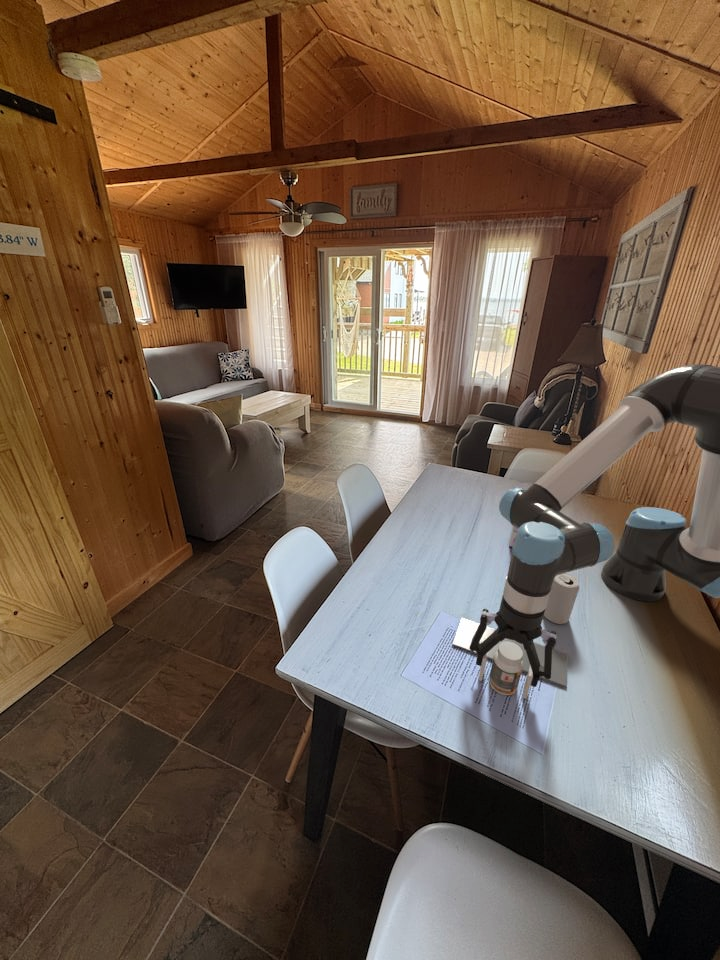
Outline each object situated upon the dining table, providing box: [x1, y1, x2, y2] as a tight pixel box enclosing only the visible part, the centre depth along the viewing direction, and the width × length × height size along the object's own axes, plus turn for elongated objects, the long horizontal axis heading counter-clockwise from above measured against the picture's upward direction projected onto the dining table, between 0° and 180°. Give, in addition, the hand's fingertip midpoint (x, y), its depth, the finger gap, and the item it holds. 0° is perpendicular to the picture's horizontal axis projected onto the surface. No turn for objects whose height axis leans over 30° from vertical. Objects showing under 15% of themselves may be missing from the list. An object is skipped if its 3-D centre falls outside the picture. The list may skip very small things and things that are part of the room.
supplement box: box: [508, 525, 518, 548], centre depth 125 cm, size 6×6×12 cm
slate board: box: [451, 617, 568, 689], centre depth 90 cm, size 24×9×1 cm, turn 63°
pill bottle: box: [488, 641, 523, 696], centre depth 80 cm, size 6×6×10 cm
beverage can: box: [543, 572, 580, 625], centre depth 97 cm, size 6×6×12 cm
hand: (502, 683), depth 82 cm, fingers open, 8 cm apart
